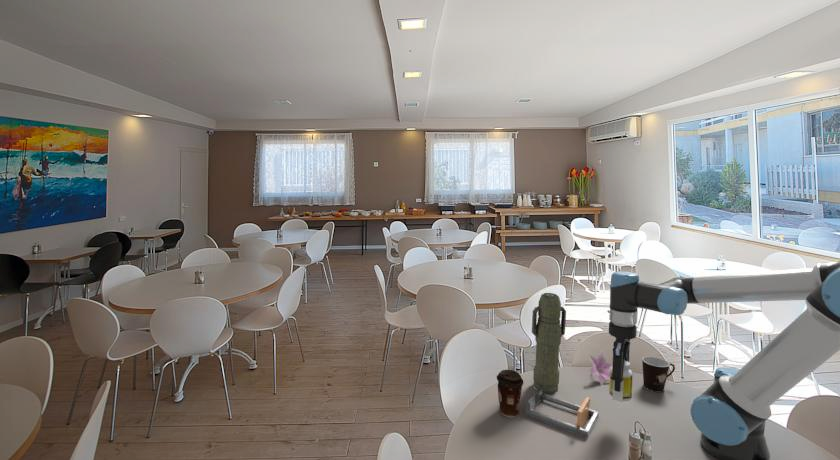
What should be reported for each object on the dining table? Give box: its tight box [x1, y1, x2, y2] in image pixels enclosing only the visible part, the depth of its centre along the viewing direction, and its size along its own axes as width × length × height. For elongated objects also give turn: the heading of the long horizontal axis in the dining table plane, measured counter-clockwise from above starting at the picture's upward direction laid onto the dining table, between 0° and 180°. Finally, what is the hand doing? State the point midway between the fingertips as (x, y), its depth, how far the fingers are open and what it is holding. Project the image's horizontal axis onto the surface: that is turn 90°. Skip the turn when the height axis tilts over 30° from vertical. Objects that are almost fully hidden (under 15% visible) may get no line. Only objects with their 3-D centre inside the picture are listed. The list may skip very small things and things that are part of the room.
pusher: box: [542, 396, 591, 428], centre depth 124 cm, size 13×10×6 cm
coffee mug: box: [641, 355, 676, 392], centre depth 143 cm, size 12×9×10 cm
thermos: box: [531, 292, 567, 394], centre depth 141 cm, size 9×12×35 cm
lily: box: [588, 350, 613, 386], centre depth 149 cm, size 12×12×10 cm
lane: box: [525, 388, 599, 439], centre depth 125 cm, size 19×13×4 cm
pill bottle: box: [608, 360, 633, 402], centre depth 120 cm, size 6×6×11 cm
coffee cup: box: [496, 369, 524, 419], centre depth 127 cm, size 9×8×13 cm
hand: (619, 395), depth 120 cm, fingers closed on pill bottle, 6 cm apart
